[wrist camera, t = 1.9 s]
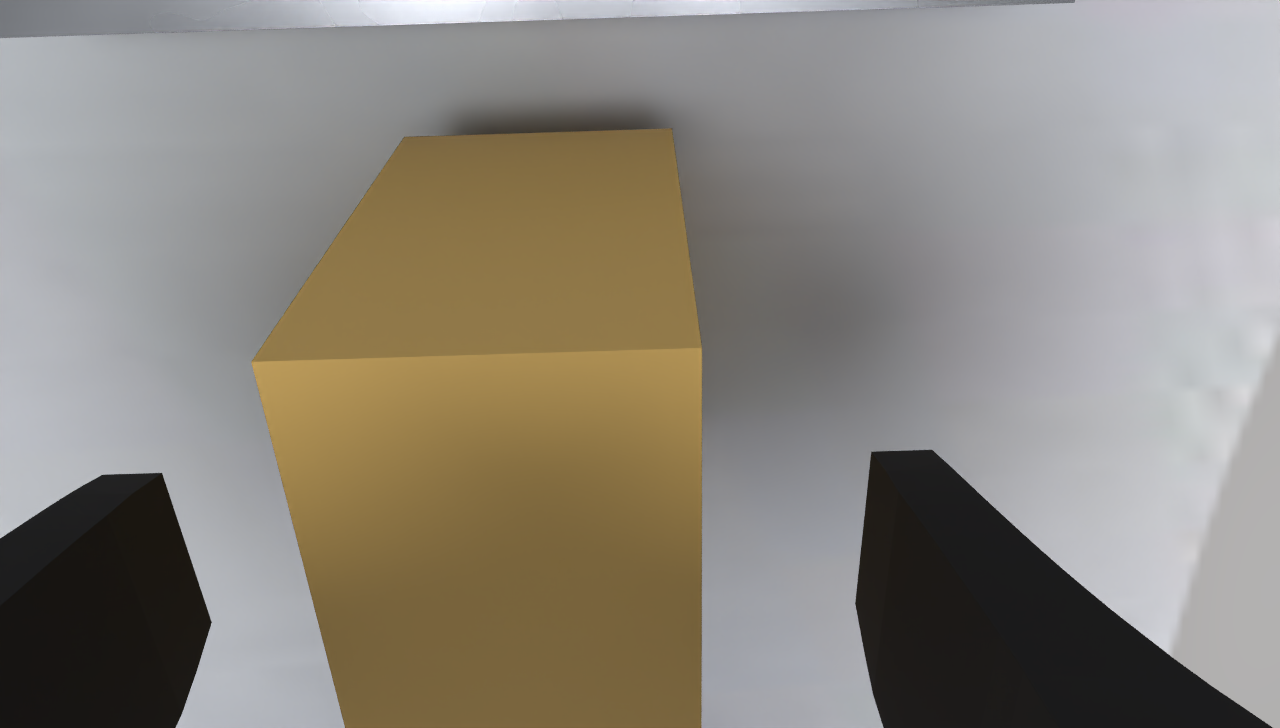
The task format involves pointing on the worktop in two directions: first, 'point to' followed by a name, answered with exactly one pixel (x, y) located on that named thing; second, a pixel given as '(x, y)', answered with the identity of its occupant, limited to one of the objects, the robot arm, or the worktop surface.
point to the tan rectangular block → (501, 437)
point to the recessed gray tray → (381, 12)
